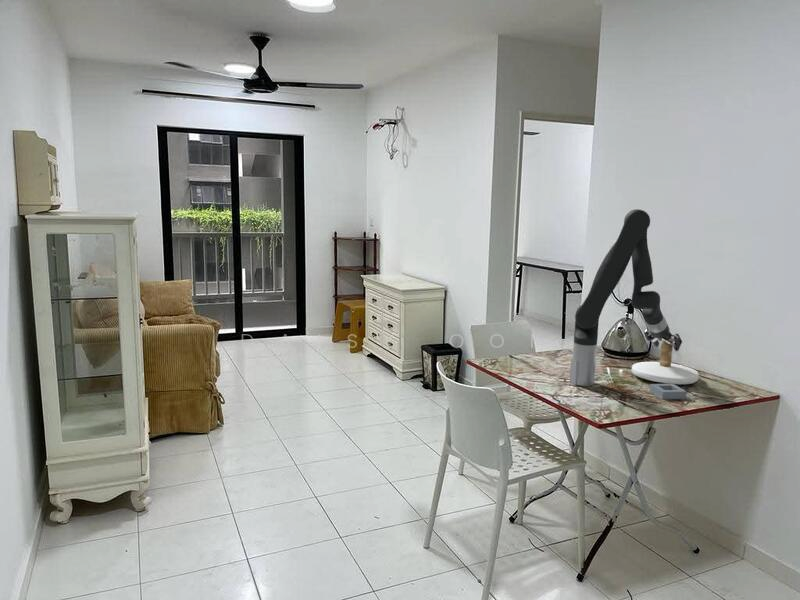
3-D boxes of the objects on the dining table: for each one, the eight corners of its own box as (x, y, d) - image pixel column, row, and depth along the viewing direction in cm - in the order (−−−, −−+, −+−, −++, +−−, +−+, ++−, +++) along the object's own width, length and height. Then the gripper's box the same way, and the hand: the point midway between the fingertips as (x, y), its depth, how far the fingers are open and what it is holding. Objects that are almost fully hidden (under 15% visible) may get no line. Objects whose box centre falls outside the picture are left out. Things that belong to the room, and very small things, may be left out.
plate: (626, 357, 266) (689, 361, 260) (625, 371, 266) (688, 376, 261) (639, 368, 238) (709, 373, 233) (638, 384, 239) (708, 389, 233)
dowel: (663, 367, 247) (665, 337, 245) (657, 364, 251) (660, 334, 249) (672, 366, 247) (675, 337, 245) (667, 363, 252) (669, 334, 250)
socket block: (662, 399, 223) (662, 391, 223) (649, 391, 233) (650, 384, 232) (685, 398, 224) (686, 391, 224) (672, 390, 234) (672, 383, 233)
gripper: (677, 320, 235) (687, 343, 245) (644, 315, 246) (654, 337, 255) (670, 335, 233) (680, 358, 242) (636, 329, 243) (647, 351, 253)
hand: (667, 347), depth 249 cm, fingers open, 8 cm apart
